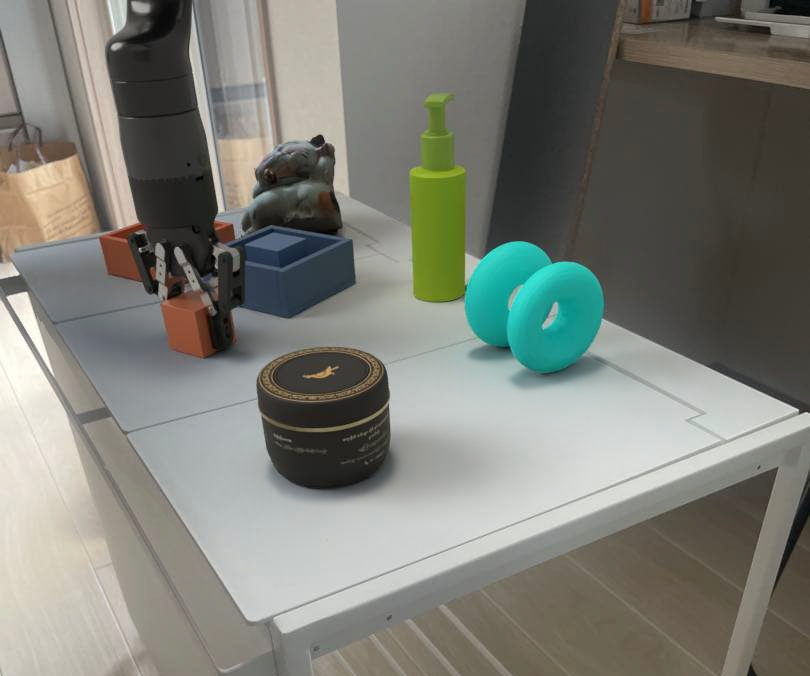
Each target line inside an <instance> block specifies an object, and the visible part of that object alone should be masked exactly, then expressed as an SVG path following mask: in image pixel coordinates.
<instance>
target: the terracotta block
mask: <svg viewBox="0 0 810 676" xmlns="http://www.w3.org/2000/svg"><path fill="white" fill-rule="evenodd" d="M211 293H212V296H213V298H214V300H218V297H217V295H216V293H213V292H211ZM160 309H161V314H162V318H163V322H164V327H165V333H166V336H167V337H166V338H167V341H168V346H169V349H170V350H173V351H177V352H181V353H184V354H188V355H191V356H195V357H198V358H201V359H205V358H207V357H209V356H210V355H213V354H214V353H217V352H218V351H219V350H216V349H213V347H212V343H211V337H210V332H209V327H208V321H207V316H206V315H208V313H207V311H206V308H205V306H204V304H203V302H202V299H201V297H200V295H199V294H196V293H194V291H193V289H192V288H191V289H190V290H188V291H184V293H183V294H181V295H178V296H176V297H174V298H172V299H169V300H167V301H165V302H162V303H161V302H160ZM232 312H233V311H232V310H230V318H231V324H232V330H233V331H232V332H233V336H234V338H233V341H232V344H234V343H236V342H237V336H236V330H235V325H234V318H233V313H232Z"/></svg>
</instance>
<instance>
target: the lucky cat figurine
mask: <svg viewBox="0 0 810 676" xmlns="http://www.w3.org/2000/svg"><path fill="white" fill-rule="evenodd" d="M335 152H336V148H335V146H334V145H333V144H332V143H329V142H326V140H325V137H324V134H321V133H319V134H316V136H313V137H312V138H311V139H310V140H309V141H308V140H302V139H293V140H292V139H291V140H286V141H285V142H283V143H280V144H279V143H278V144H277V145H275V146H274V148H273V150H272V151H271V152H270V153H267V154H266V156H265V157H264V158H263V159H262V160H261V161H260V162H259V165H258V166H257V167H256V168H255V167H254V168H253V170H254V177H255V181H256V184H255V185H254V186H253V189H252V199H253V200H252V201H251V203H250V204H249V205H248V207H246V209H245V211H244V213H243V216H242V218H241V230H242V231H243V233H244V234H243V235H240V238H241V237H243V236H245V235H248V234H250V233H253V232H255V231H258V230H260V229H263V228H265V227H268V226H270V225H274V226H279V227H285V228H291V229H296V230H302V231H308V232H314V233H329V234H338V231H339V230H341V229H343V228H344V224H343V221H342V211H341V208H340V204H339V202H338V200H337V197H336V194H335V187H334V180H335V166H336V163H337V162H336V154H335Z"/></svg>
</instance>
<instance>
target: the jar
mask: <svg viewBox="0 0 810 676" xmlns="http://www.w3.org/2000/svg"><path fill="white" fill-rule="evenodd" d="M255 384H256V396H257V408H258V411H259V413H260V417H261V423H262V431H263V435H264V442H265V447H266V451H267V454H268V456H269V458H270V461H271V463H272V465H273V467H274V468H275V470H276V471H277V472H278V474H280V475H281V476H282V477H284V478H285V479H286V480H287V481H289V482H291V483H293V484H295V485H298V486H301V487H305V488H309V489H310V488H312V489H336V488H343V487H347V486H351V485H355V484H357V483H360V482H362V481H364V480H367V479H368V478H369V477H371V476H373V475H374V474H375V473H376V472H377V471H378V470H379V469H380V468H381V467H382V466H383V464H384V463H385V461H386V459H387V456H388V453H389V450H390V444H391V436H392V433H391V415H390V414H391V413H390V412H391V411H390V401H391V390H390V386H389V385H390V384H389V375H388V370H387V368H386V365H385V364H384V363H383V361H382V360H381V359H379V358H378V356H375V355H374V354H372V353H369V352H367V351H365V350H361V349H357V348H352V347H346V346H345V347H344V346H319V347H317V346H316V347H309V348H304V349H299V350H295V351H292V352H288V353H286V354H283V355H281V356H278V357H276V358H274V359H273V360H271V361H270V362H268V363H267V364H266V365H265V366H263V367H262V369H261V370H260V371H259V373H258V375H257V378H256V383H255Z"/></svg>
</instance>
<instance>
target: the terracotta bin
mask: <svg viewBox="0 0 810 676" xmlns="http://www.w3.org/2000/svg"><path fill="white" fill-rule="evenodd" d="M214 227H215V230H216V232H217V234H218V236H219V238H220V241H221V243H222V244H226V243H228V242H231V241H233V240H236V239H237V238H236V234H235V227H234V223H232V222H226V221H221V220H215V221H214ZM146 228H147V226H144V225H142V224H141V223H140V222H139V221H138V222H135V223H133V224H130V225H128V226H125V227H122V228H119V229H115V230H113V231H111V232H107V233H105V234H102V235H98V240H99V244H100V247H101V251H102V255H103V260H104V263H105V267H106V271H107V274H109V275H113V276H117V277H121V278H126V279H130V280H134V281H138V282H142V279H141V277H140V274H139V271H138V269H137V266H136V263H135V261H134V258H133V255H132V252H131V250H130V247H129V244H128V242H127V235H129V234H132V233H135V232H138V231H140V230H143V229H146ZM150 272H151V275H152V278H153V280H155V279H156V272H155V269H154V267H151V268H150ZM187 283H190V282H189V280H188V279H186V280H185V284H187Z"/></svg>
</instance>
